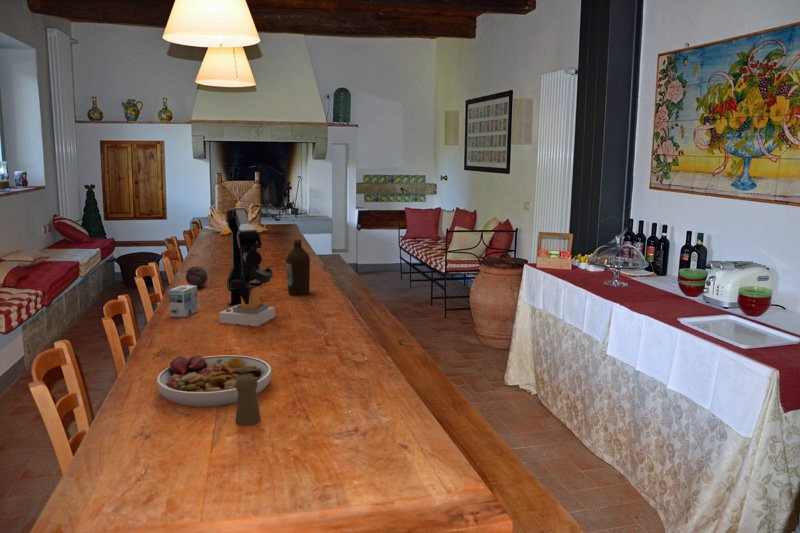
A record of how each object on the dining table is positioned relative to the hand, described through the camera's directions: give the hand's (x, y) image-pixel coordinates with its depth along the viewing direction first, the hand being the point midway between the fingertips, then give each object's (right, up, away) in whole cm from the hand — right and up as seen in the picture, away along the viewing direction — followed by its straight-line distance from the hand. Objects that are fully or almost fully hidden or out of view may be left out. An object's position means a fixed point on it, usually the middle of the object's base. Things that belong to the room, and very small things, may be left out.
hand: (250, 302), depth 245 cm
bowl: (+6, -20, -68) cm, 72 cm away
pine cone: (-39, +4, +59) cm, 71 cm away
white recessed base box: (-1, -7, +2) cm, 7 cm away
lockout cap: (0, -2, 0) cm, 2 cm away
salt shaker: (+20, -24, -89) cm, 94 cm away
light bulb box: (-29, -5, +10) cm, 31 cm away
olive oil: (+11, +1, +46) cm, 48 cm away
